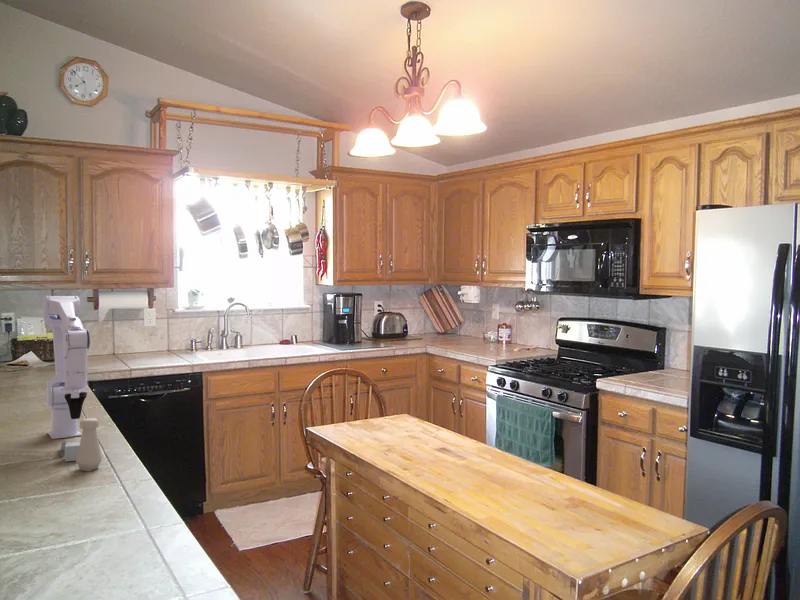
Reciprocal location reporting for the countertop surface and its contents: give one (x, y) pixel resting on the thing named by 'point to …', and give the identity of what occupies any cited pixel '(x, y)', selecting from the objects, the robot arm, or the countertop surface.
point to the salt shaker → (89, 446)
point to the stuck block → (71, 451)
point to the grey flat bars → (62, 449)
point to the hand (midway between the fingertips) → (75, 418)
